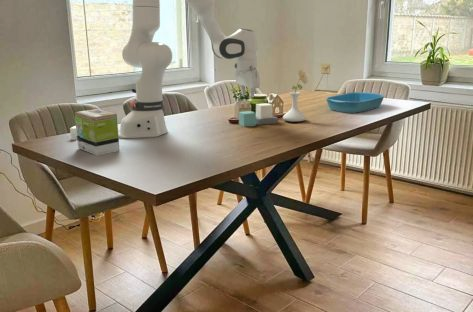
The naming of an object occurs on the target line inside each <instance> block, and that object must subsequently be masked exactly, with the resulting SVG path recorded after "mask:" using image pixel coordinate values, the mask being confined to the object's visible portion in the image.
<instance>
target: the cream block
mask: <svg viewBox="0 0 473 312" xmlns="http://www.w3.org/2000/svg"><path fill="white" fill-rule="evenodd" d="M273 111H274V110H273V104H271V103H269V102H266V103H264V102H263V103H255V113H256V117H259V118H272V116H273Z"/></svg>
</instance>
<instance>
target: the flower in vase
mask: <svg viewBox="0 0 473 312" xmlns="http://www.w3.org/2000/svg"><path fill="white" fill-rule="evenodd" d="M297 74H298V77H299V79H298V82H297V85H296V86H295V85H292V87H291V89H292V90H294V91H292V92H291V91H290V92H289V95H290V97H291V99H292V100H291V101H292V103H291V104H292V106H291V108H290V109H289V110H288V111H287V112H286V113H284V115H283V116H282V119H283V120H284V121H286V122H292V123H294V122H295V123H297V122H304V121H305V120H307V116H306V114H304V112H302V111H301V110H300V109H299V107H298V99H299V96H300V94H301V92H300V91H297V90H298V89H299V90H303V85H302V84H299V83H300V81H301V82H302V83H303V84H308V82H309V81H308V79H309V77H308V76H307V75H306V72H305V71H303V68H298V70H297Z"/></svg>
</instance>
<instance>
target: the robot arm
mask: <svg viewBox="0 0 473 312" xmlns="http://www.w3.org/2000/svg"><path fill="white" fill-rule="evenodd" d="M185 1H186V3H187V5H188V6H189V7H190V9H191V11H192V12H193V13H194V15H195V16H196V17H197V19H199V21H200V22H201V24H202V26H203V27H204V30H205V31H206V33H207V35H208V38H209V39H210V42H211V49H212V50H211V51H212V52H213V54H214V56H215V57H217V58H219V59H225V60H232V59H236V58H237V60H236V62H234V65H233V67H234V71H235V72H234V74H235V76H234V77H235V83H236V84H237V85H239V86H240V87H239V88H240V91H241V95H244V96H245V95H247V90H246V87H248V88H249V90H250V91H249V98H254V97H255V92H256V89H259V88H260V85H261V83H260V73H259V71H258V58H257V49H258V48H257V46H258V45H257V44H258V42H257V35H256V33H255V31H254V30H252V29H249V28H248V29H247V28H239V29H238V30H236V31H235V32H234V33H232V34H230V35H228V36H226V35H225V34H224V33H223V30H222V29H221V27H220V25H219V23H218V21H217V19H216V17H215V7H216V1H215V0H185ZM160 26H161V3H160V0H132V29H131V32H130V37H129V39H128V41H127V43H126V44H125V45H124V47H123V49H122V52H121V54H122V55H121V56H122V59H123V61H124V63H126V64H127V65H129V66H131V67H134V68H140V69H141V75H140V76H139V79H137V80H136V82H135V95H136V97H135V98H136V100H135V101H133V100H132V101H130V102H129V105H130V106H131V109H132V110H131V111H130V112H129V113H128V114H127V115H125V116H124V117H123V118H121V122H120V127H119V128H120V129H118V136H119V139H139V138H140V139H141V138H155V137H156V138H158V137H159V136H162V135H164V134H167V133H168V132H169V131H168V128H167V124H166V121H165V115H164V114H165V102H164V100H163V79H164V76H165V75H164V74H165V71H166V70H167V69H168V67H169V66H170V65H171V64H172V61H173V52H172V51H173V50H172V49H171V47H170V46H168V44H165V43H162V42H158V41H153V40H154V35H155V34H156V32H158V30H159V28H160Z"/></svg>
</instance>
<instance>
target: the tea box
mask: <svg viewBox="0 0 473 312" xmlns="http://www.w3.org/2000/svg"><path fill="white" fill-rule="evenodd" d="M117 116H118V113H114V112H110V111H106V110H103V109H100V108H93V109H87V110H86V109H85V110H81V111H75V112H74V121H75V126H76V133H77V140H76V141H77V149H78V150H83V151H85V152H87V153H89V154H91V155H93V156H94V155H95V156H96V157H98V156H103V155H107V154H112V153H115V152H119V151H121V150H120V138H119V136H118V130H119V127H118V117H117Z"/></svg>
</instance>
